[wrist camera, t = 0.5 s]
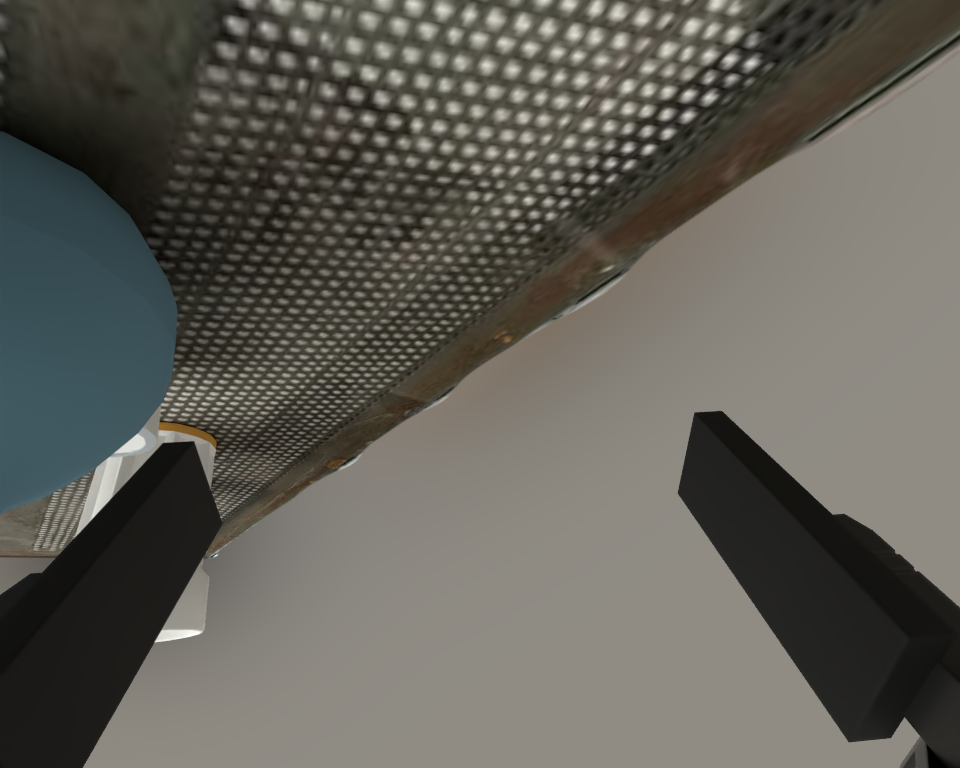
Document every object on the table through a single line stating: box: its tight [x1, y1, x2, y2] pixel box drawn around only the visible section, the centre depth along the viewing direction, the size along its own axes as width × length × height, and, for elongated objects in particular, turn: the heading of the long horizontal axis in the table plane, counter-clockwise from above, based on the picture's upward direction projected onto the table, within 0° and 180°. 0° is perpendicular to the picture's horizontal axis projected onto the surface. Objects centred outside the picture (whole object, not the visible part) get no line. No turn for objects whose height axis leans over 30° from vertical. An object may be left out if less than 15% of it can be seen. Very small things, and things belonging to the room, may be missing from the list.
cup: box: [75, 422, 217, 642], centre depth 43 cm, size 11×11×17 cm
